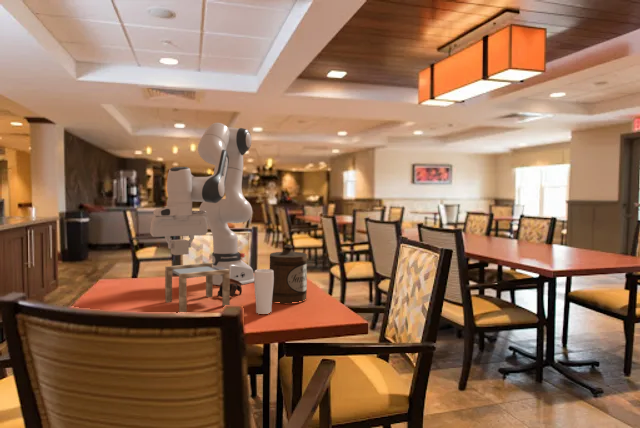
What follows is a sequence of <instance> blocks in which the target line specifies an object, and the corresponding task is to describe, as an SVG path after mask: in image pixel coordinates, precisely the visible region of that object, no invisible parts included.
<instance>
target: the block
mask: <svg viewBox="0 0 640 428" xmlns="http://www.w3.org/2000/svg"><path fill="white" fill-rule="evenodd" d="M170 242H171V243H172V244H173V249H170V254H171V255H174V256H180V255H181V256H182V255H189V253H190V252H189V251H190V248H189V239H170Z"/></svg>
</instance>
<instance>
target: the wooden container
mask: <svg viewBox="0 0 640 428" xmlns="http://www.w3.org/2000/svg"><path fill="white" fill-rule="evenodd" d="M283 248H284V250H283V251H276V252H272V253H270V254H269V269H271V270H273V271H274V285H273V296H272V301H273V302H280V303H292V302H299V301H303V300H305V299H306V300H307V288H308V287H307V286H308V283H307V282H308V281H307V280H308V278H307V277H308V276H307V275H308V274H307V273H308V269H307V268H308V267H307V264H308V262H307V258H308V255H307V253H305V252H300V251H299V252H298V251H294V250H293V245H291V244H289V243H287V244H285V245H284V246H283ZM273 302H272V303H273Z"/></svg>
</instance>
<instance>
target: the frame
mask: <svg viewBox="0 0 640 428" xmlns="http://www.w3.org/2000/svg"><path fill="white" fill-rule="evenodd" d="M207 266H209V267H212V268H213V264H212V262H206V263H205V262H202V263H193V264H192V263H191V264H182V265H181V264H180V265H171V266H165V267H164V268H165V270H164V289H165V290H164V293H165V294H164V295H165V297H164V299H165V303H166V304H167V303H169V304H170V303H172V302H173V272H172V270H174V269H185V268H196V267H207ZM221 274H222V297H221V298H222V305H221V306H222V307H224V306H225V305H230V303H231V301H230V299H231V296H230V274H229V269H223V270H213V271H203V272H192V273H182V274H179V276H178V313H180V312H186V313H187V311H188V310H187V306H188V305H187V303H188V301H187V299H188V298H187V279H193V277H194V278H200V277H201V278H203V277H202V276H204V277H205V297H207V298H213V293H214V292H213V290H214V289H213V285H214V284H213V276H212V275H221ZM230 306H231V305H230Z"/></svg>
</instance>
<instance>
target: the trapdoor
mask: <svg viewBox="0 0 640 428" xmlns="http://www.w3.org/2000/svg"><path fill="white" fill-rule="evenodd" d="M212 267H213V266H212ZM212 267H209V266H207V267H196V268H185V269H174V270H172V274H175V275H176V276H178V277H179V274H182V273H192V272H203V271H213V270H223V269H226V268H223V267H213V268H212ZM212 276H213V275H212ZM221 276H222V274H221ZM203 277H205V276H202V277H201V278H203ZM193 278H195V277H193ZM193 278H192V279H193Z"/></svg>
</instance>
